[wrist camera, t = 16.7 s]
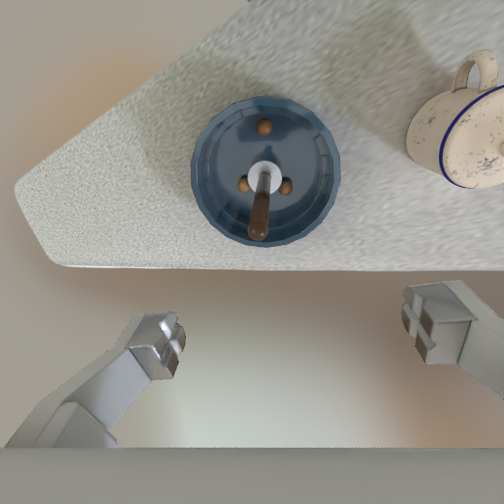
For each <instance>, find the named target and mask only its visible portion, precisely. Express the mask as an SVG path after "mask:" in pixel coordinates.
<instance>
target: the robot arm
mask: <svg viewBox="0 0 504 504" xmlns="http://www.w3.org/2000/svg"><path fill="white" fill-rule="evenodd" d="M403 296H404V298H405V300H406V302H405V303H404V304H403V305H402V311H401V314H402V320H403V324H404V326H405V329H406V330H407V332H408V334H409V335H410V336H412V337H414V338H415V339H416V343H415V347H416V349H417V350H418V352H419V354H420V356H421V357H422V359H423V361H424V363H425V364H426V365H437V364H438V365H439V364H458V366H459V367H460V368H462V369H463V370H465V371H466V372H467V373H468V374H470V375H471V376H472V377H474V378H475V379H477V380H478V381H479V382H481V383H482V384H483V385H485V386H486V387H487V388H489V389H490V390H491V391H493V392H494V393H495V394H497V395H498V396H499V397H501V398H502V399H503V400H504V318H500V317H499V316H498V315H497V314H496V313H495V312H493V311H492V309H491V308H489V307H488V306H487V305H486V304H485V303H484V302H483V301H482V300H481V299H480V298H479V297H478V296H477V295H476V294H475V293H474V292H473V291H472V290H471V289H470V288H469V287H468V286H467V285H466V284H465V283H464V282H463V281H460V280H454V281H446V282H440V283H430V284H421V285H413V286H406V287H405V289H404V293H403ZM177 320H178V318H177V316H176V314H175V313H174V312H159V313H148V314H137V315H135V316H133V317H132V319H131V320H130V322H129V323H128V325H127V327H126V328H125V330H124V331H123V333H122V334H121V336H120V337H119V339H118V340H117V342H116V343H115V345H114V347H113V348H112V349H111V350H107V351H106V352H105V353H104V354H102V355H101V356H99V357H98V358H96V359H95V360H94V361H93V362H91V363H90V364H89V365H87V366H86V367H85V368H83V369H82V370H81V371H79V372H78V373H77V374H75V375H74V376H73V377H71V378H70V379H69V380H67V381H66V382H65V383H63V384H62V385H61V386H59V387H58V388H57V389H56V390H54V391H53V392H52V393H50V394H49V395H48V396H46V397H45V398H44V399H42V400H41V401H40V402H39V403H38V404H37V405H36V406H35V408H34V409H33V410H32V412H31V413H30V414H29V416H28V417H27V418H26V420H25V421H24V422H23V423H22V425H21V426H20V427H19V428H18V430H17V431H16V432H15V434H14V435H13V436H12V437H11V439H10V440H9V441H8V443H7V444H6V445H5V446H4V448H0V504H504V448H116V445H117V440H116V438H115V437H114V436H113V435H111V434H110V433H109V432H108V431H109V430H110V429H111V428H112V426H113V425H114V424H115V423H116V422H117V421H118V420H119V418H120V417H121V416H122V415H123V414H124V413H125V412H126V410H127V409H128V408H129V407H130V406H131V405H132V404H133V402H134V401H135V400H136V399H137V398H138V397H139V396H140V394H141V393H142V392H143V391H144V390H145V389H146V388H147V386H148V385H149V384H150V383H151V380H162V379H172V378H173V377H174V374H175V371H176V369H177V366H178V363H179V361H178V358H177V356H178V355H179V354H180V353H181V352H183V349H184V346H185V339H186V336H185V332H184V329H183V327H182V326H180V325H179V324H178V323H176V322H177Z"/></svg>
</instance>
